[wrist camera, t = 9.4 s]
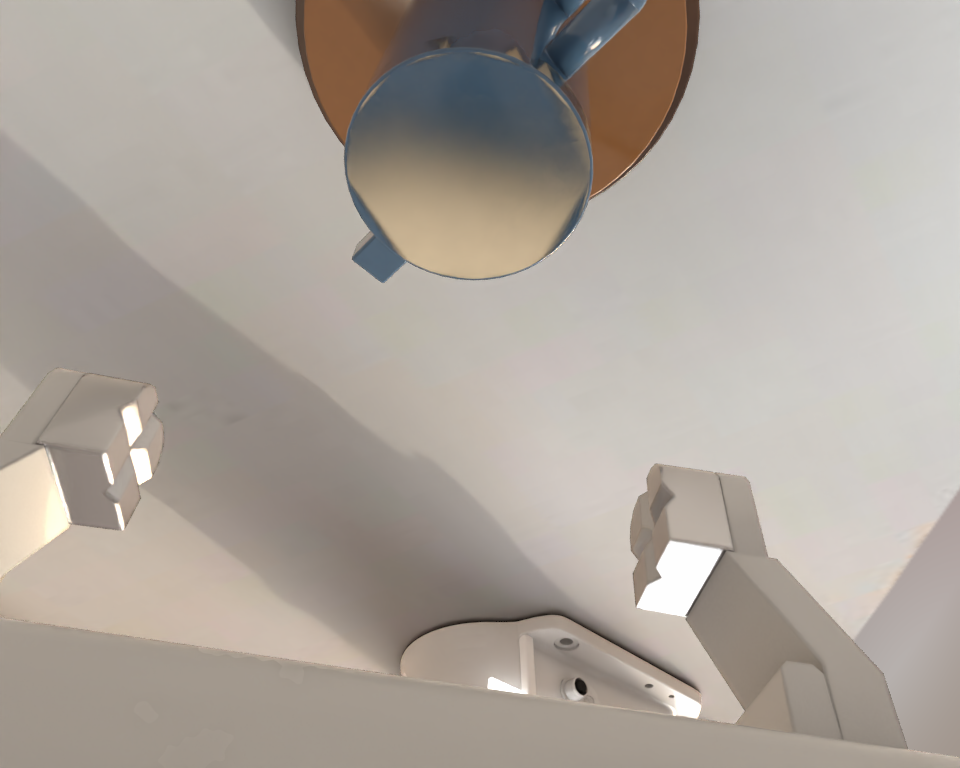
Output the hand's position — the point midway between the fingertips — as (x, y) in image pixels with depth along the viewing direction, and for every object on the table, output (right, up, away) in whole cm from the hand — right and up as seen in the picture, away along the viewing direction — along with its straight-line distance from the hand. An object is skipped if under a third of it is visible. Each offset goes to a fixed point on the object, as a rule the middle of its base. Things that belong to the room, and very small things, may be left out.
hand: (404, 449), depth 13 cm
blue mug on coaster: (+2, +13, +15) cm, 19 cm away
